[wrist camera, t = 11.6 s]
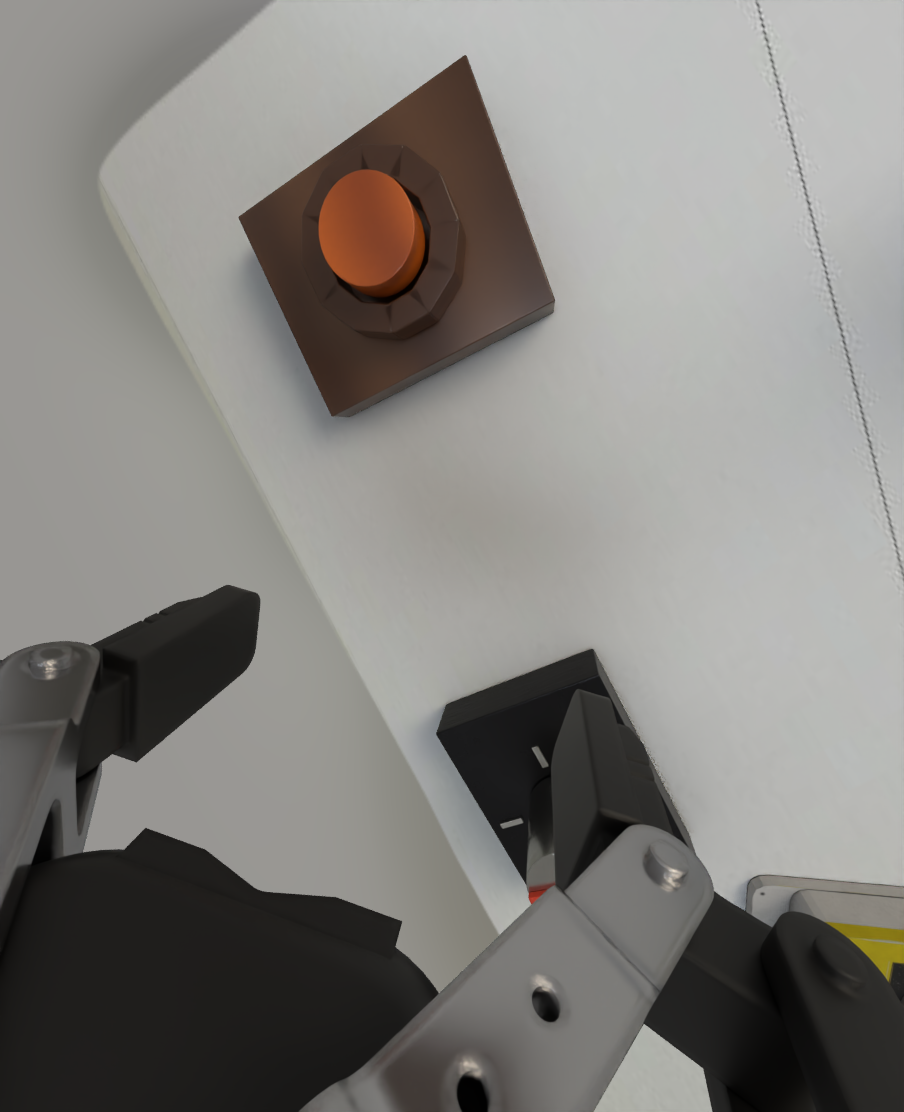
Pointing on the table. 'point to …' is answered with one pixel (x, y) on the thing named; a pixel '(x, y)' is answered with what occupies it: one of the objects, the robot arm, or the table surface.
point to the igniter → (449, 259)
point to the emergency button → (841, 915)
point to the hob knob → (540, 841)
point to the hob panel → (525, 743)
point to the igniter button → (371, 233)
